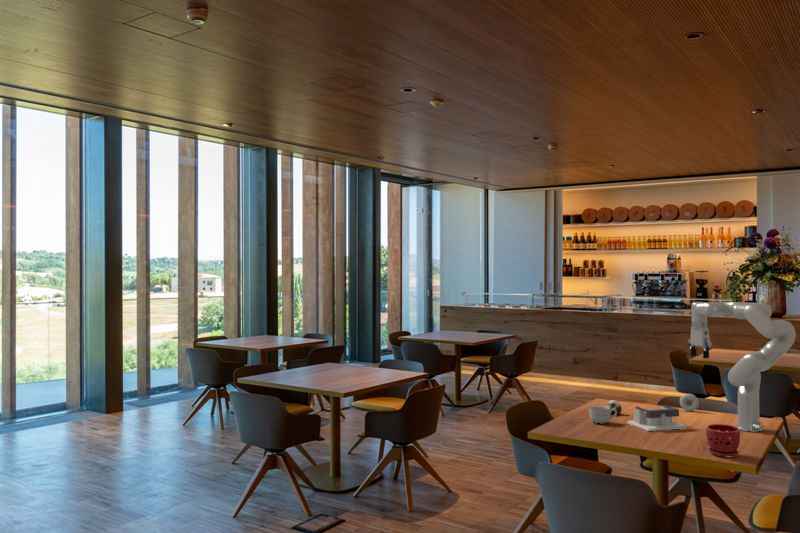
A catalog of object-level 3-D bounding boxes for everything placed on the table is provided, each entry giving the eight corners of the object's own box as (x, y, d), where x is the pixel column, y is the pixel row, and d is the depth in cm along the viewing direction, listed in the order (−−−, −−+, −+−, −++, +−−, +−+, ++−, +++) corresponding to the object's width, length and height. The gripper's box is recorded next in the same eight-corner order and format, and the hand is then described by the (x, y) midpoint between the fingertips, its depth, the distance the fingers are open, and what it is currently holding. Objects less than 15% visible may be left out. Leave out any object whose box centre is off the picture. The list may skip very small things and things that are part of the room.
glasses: (679, 416, 330) (678, 409, 330) (649, 418, 326) (649, 411, 326) (664, 411, 342) (664, 404, 342) (635, 413, 338) (635, 406, 338)
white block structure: (686, 428, 328) (686, 412, 328) (648, 431, 323) (648, 414, 323) (663, 421, 346) (663, 405, 346) (627, 423, 340) (627, 407, 340)
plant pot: (701, 450, 289) (701, 423, 289) (733, 451, 288) (732, 424, 288) (713, 459, 276) (712, 430, 276) (745, 459, 275) (745, 431, 275)
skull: (601, 414, 358) (600, 398, 365) (601, 424, 366) (600, 408, 373) (624, 414, 355) (622, 398, 362) (623, 424, 363) (622, 408, 369)
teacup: (588, 424, 340) (588, 409, 340) (590, 419, 350) (589, 405, 350) (616, 426, 335) (616, 410, 335) (617, 421, 345) (617, 406, 345)
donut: (679, 410, 370) (679, 393, 370) (680, 409, 373) (680, 392, 373) (698, 412, 365) (698, 394, 365) (699, 411, 368) (699, 393, 368)
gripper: (716, 326, 342) (717, 358, 342) (694, 323, 359) (694, 354, 359) (704, 326, 340) (705, 359, 340) (682, 324, 357) (682, 355, 357)
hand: (699, 357), depth 349 cm, fingers open, 9 cm apart
